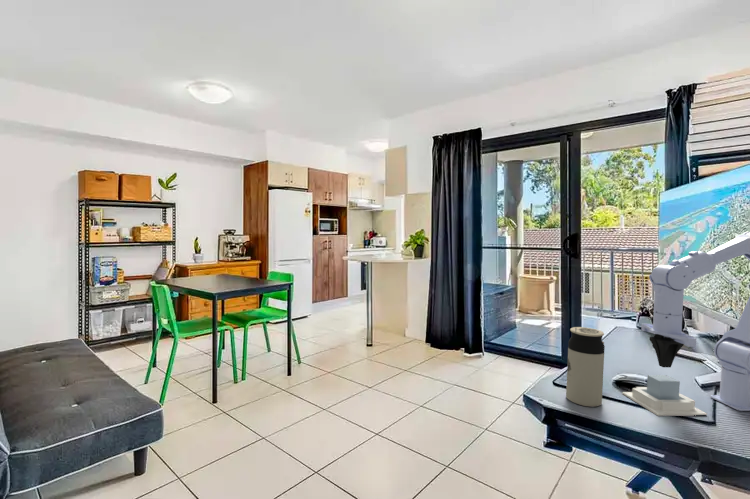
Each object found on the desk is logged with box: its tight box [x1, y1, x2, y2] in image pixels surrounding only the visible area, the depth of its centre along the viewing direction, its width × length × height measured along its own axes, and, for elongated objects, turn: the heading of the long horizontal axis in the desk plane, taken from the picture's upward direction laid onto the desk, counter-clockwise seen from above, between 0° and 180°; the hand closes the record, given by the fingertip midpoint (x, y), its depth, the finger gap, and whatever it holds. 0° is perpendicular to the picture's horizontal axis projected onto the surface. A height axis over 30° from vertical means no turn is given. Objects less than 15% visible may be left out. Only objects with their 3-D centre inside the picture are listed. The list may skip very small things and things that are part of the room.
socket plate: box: [621, 386, 708, 417], centre depth 95 cm, size 12×12×2 cm
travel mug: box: [565, 326, 606, 408], centre depth 96 cm, size 8×8×18 cm
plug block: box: [646, 374, 681, 400], centre depth 95 cm, size 5×4×6 cm
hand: (665, 366), depth 96 cm, fingers closed
